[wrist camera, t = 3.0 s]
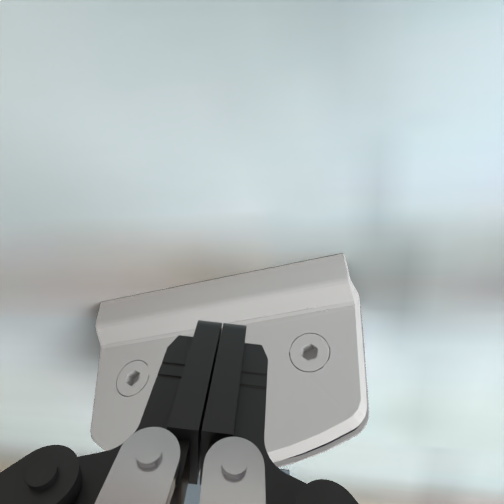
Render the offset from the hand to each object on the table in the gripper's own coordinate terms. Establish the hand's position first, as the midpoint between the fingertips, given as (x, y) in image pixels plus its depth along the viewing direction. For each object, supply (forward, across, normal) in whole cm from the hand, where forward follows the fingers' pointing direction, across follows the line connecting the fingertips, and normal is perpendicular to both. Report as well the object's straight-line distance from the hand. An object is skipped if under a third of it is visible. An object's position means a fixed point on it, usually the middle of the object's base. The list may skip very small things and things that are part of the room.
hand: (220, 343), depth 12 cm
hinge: (+11, 0, +9) cm, 14 cm away
